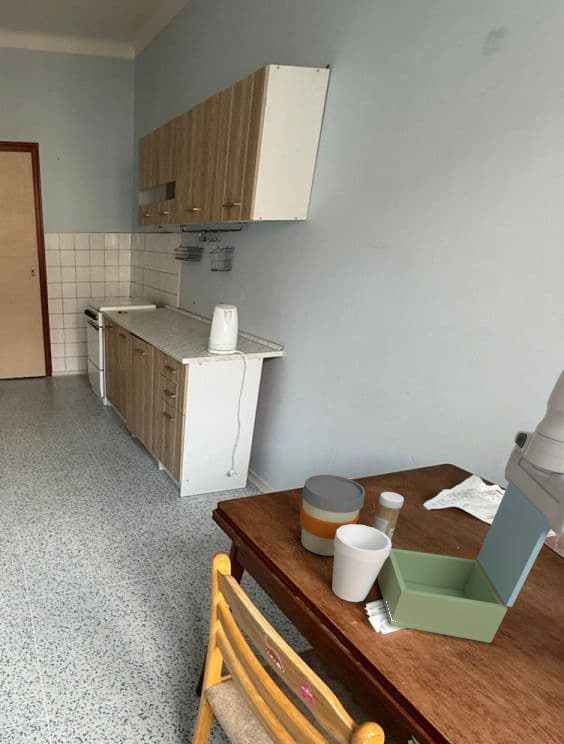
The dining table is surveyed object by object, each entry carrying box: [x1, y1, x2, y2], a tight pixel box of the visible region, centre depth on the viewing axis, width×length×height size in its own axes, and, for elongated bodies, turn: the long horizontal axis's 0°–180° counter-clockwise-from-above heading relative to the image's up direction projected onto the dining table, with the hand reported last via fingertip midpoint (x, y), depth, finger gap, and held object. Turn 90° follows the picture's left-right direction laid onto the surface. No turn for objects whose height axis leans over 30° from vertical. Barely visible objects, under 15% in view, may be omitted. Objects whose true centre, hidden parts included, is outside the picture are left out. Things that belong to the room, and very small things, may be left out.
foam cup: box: [331, 523, 393, 603], centre depth 92 cm, size 10×9×13 cm
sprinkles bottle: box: [371, 491, 405, 540], centre depth 104 cm, size 5×5×14 cm
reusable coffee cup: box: [299, 474, 366, 557], centre depth 106 cm, size 13×13×15 cm
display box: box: [376, 547, 508, 644], centre depth 88 cm, size 16×14×8 cm
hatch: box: [476, 480, 552, 608], centre depth 80 cm, size 17×14×1 cm
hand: (527, 529), depth 78 cm, fingers closed, pressing on hatch
